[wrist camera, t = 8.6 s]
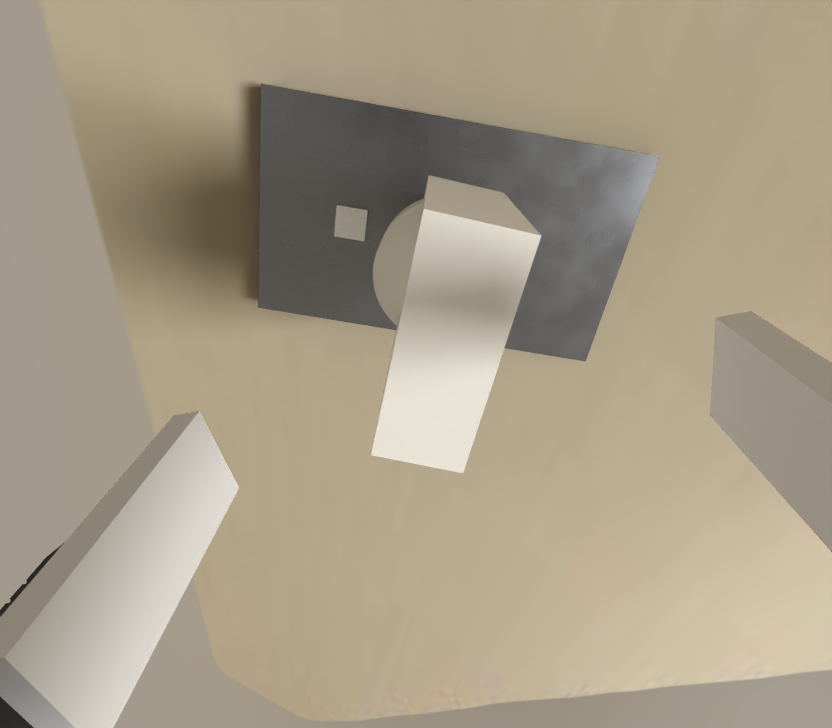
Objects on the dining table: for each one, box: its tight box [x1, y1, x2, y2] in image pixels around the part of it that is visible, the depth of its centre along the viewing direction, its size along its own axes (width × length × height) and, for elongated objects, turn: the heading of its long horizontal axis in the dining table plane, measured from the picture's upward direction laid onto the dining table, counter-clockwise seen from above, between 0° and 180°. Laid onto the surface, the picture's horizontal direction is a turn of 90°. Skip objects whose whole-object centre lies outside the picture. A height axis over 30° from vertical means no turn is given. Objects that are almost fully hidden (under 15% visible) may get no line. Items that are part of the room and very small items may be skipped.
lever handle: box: [371, 175, 541, 473], centre depth 22 cm, size 10×7×12 cm
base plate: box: [258, 84, 660, 361], centre depth 30 cm, size 14×24×7 cm, turn 81°
